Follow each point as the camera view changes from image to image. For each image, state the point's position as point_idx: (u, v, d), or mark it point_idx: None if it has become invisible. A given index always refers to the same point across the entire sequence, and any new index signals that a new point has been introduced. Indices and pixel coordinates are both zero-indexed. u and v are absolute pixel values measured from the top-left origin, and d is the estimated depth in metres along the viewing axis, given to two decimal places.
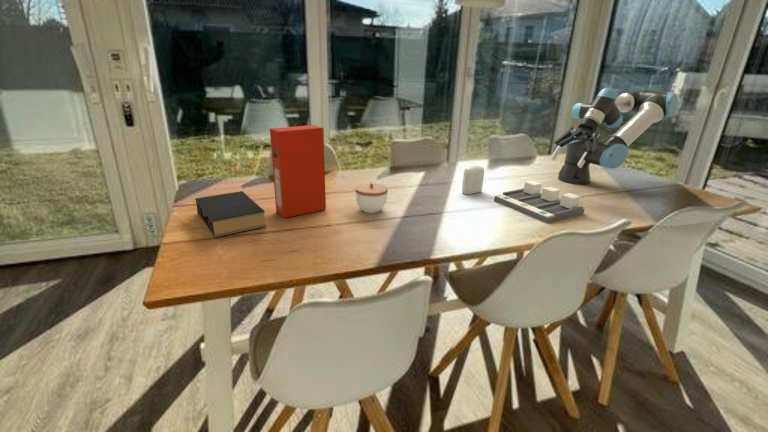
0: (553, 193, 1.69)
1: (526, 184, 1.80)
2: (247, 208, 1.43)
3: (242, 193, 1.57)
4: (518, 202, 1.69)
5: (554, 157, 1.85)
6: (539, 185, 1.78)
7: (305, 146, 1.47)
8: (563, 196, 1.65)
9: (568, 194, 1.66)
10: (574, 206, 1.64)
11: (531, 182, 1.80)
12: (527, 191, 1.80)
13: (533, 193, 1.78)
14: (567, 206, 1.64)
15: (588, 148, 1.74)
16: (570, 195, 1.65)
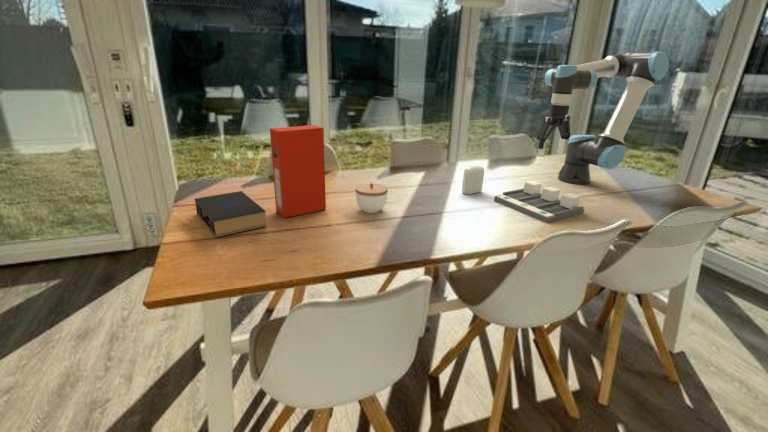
0: (553, 193, 1.69)
1: (526, 184, 1.80)
2: (247, 208, 1.43)
3: (241, 193, 1.57)
4: (518, 202, 1.69)
5: (559, 151, 1.81)
6: (539, 185, 1.78)
7: (305, 146, 1.47)
8: (563, 196, 1.65)
9: (568, 194, 1.66)
10: (574, 206, 1.64)
11: (531, 182, 1.80)
12: (527, 191, 1.80)
13: (533, 193, 1.78)
14: (567, 206, 1.64)
15: None
16: (570, 195, 1.65)
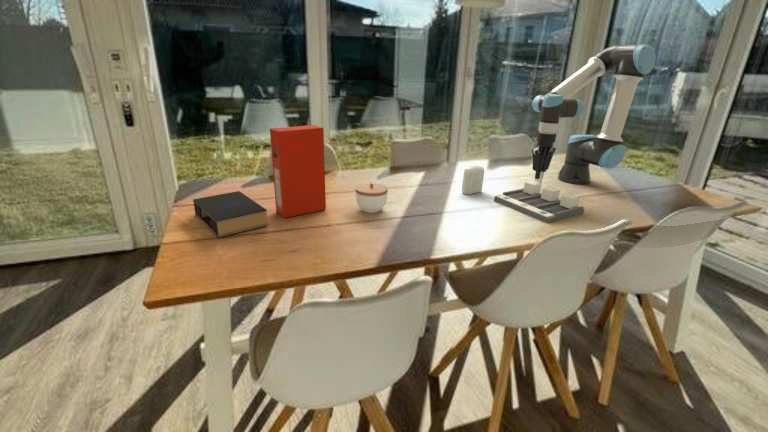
0: (553, 193, 1.69)
1: (526, 184, 1.80)
2: (248, 207, 1.43)
3: (239, 193, 1.57)
4: (518, 202, 1.69)
5: None
6: (539, 185, 1.78)
7: (305, 146, 1.47)
8: (563, 196, 1.65)
9: (568, 194, 1.66)
10: (574, 206, 1.64)
11: (531, 182, 1.80)
12: (527, 191, 1.80)
13: (533, 193, 1.78)
14: (567, 206, 1.64)
15: None
16: (570, 195, 1.65)
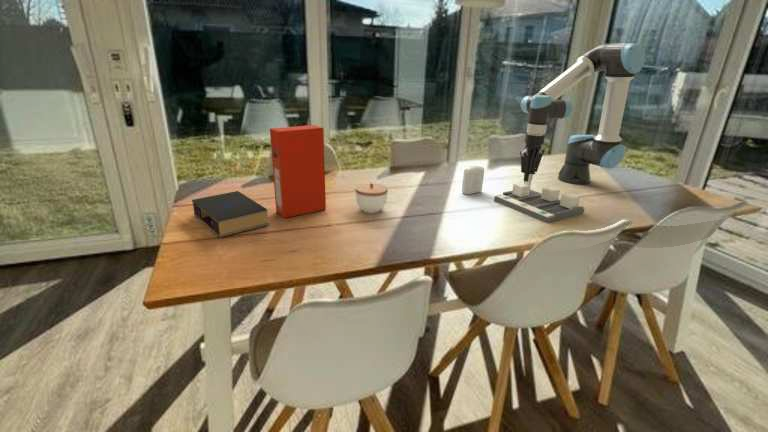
0: (553, 193, 1.69)
1: (515, 186, 1.76)
2: (249, 207, 1.44)
3: (238, 193, 1.57)
4: (518, 202, 1.69)
5: None
6: (528, 187, 1.75)
7: (305, 146, 1.47)
8: (563, 196, 1.65)
9: (568, 194, 1.66)
10: (574, 206, 1.64)
11: (520, 184, 1.76)
12: (516, 193, 1.76)
13: (522, 195, 1.75)
14: (567, 206, 1.64)
15: None
16: (570, 195, 1.65)
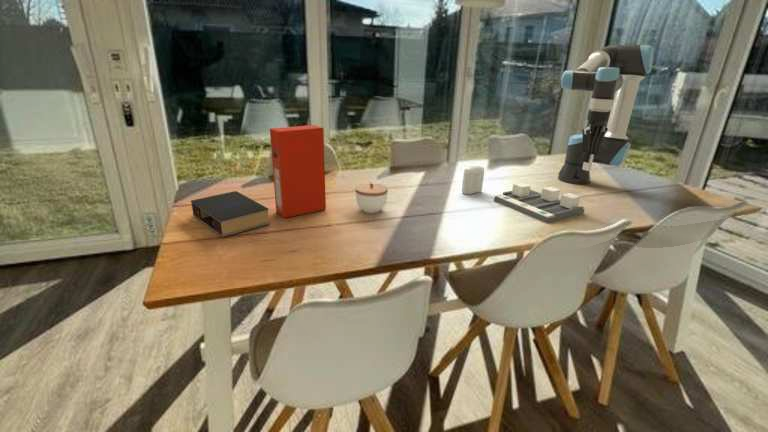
0: (553, 193, 1.69)
1: (514, 186, 1.76)
2: (249, 207, 1.44)
3: (237, 193, 1.57)
4: (518, 202, 1.69)
5: None
6: (528, 187, 1.75)
7: (305, 146, 1.47)
8: (563, 196, 1.65)
9: (568, 194, 1.66)
10: (574, 206, 1.64)
11: (520, 184, 1.76)
12: (515, 193, 1.76)
13: (521, 195, 1.74)
14: (567, 206, 1.64)
15: None
16: (570, 195, 1.65)
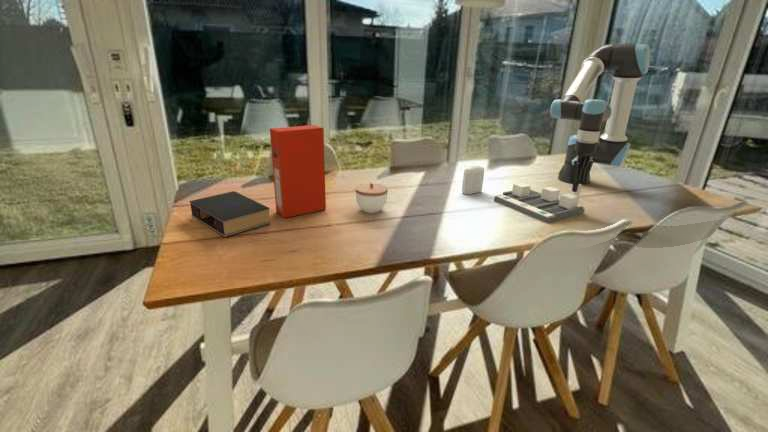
0: (553, 193, 1.69)
1: (514, 186, 1.76)
2: (250, 206, 1.44)
3: (235, 193, 1.57)
4: (518, 202, 1.69)
5: None
6: (528, 187, 1.75)
7: (305, 146, 1.47)
8: (562, 196, 1.64)
9: (567, 194, 1.65)
10: (573, 206, 1.63)
11: (520, 184, 1.76)
12: (515, 193, 1.76)
13: (521, 195, 1.74)
14: (566, 206, 1.63)
15: None
16: (569, 195, 1.64)
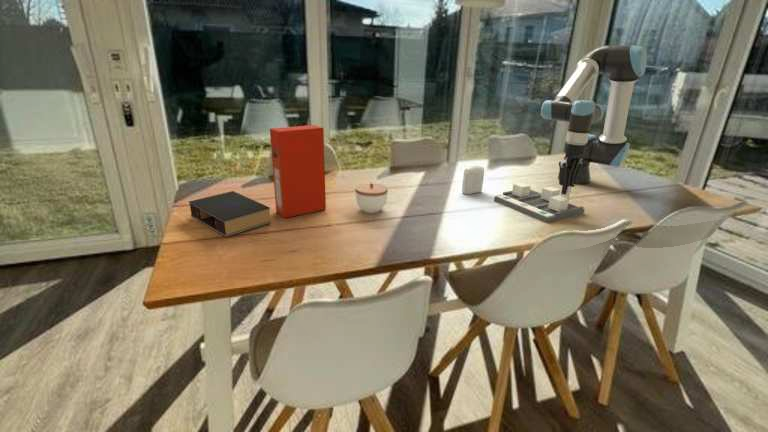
0: (553, 193, 1.69)
1: (514, 186, 1.76)
2: (250, 206, 1.45)
3: (234, 193, 1.57)
4: (518, 202, 1.69)
5: None
6: (528, 187, 1.75)
7: (305, 146, 1.47)
8: (551, 199, 1.61)
9: (556, 197, 1.62)
10: (562, 209, 1.60)
11: (520, 184, 1.76)
12: (515, 193, 1.76)
13: (521, 195, 1.74)
14: (555, 209, 1.60)
15: None
16: (559, 197, 1.61)
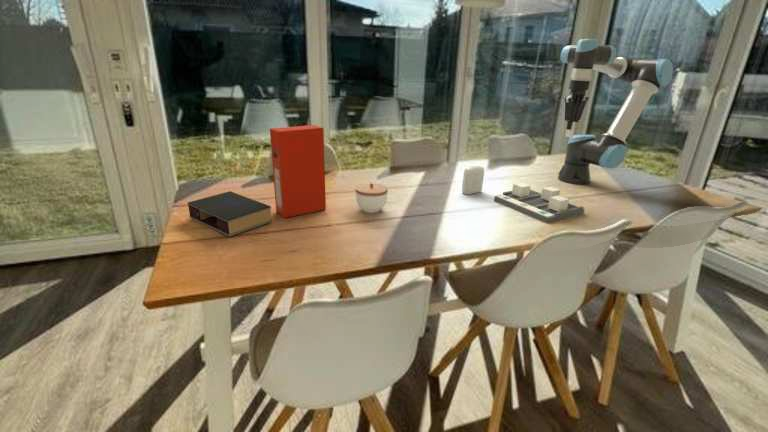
0: (553, 193, 1.69)
1: (514, 186, 1.76)
2: (251, 205, 1.45)
3: (232, 193, 1.57)
4: (518, 202, 1.69)
5: None
6: (528, 187, 1.75)
7: (305, 146, 1.47)
8: (551, 199, 1.61)
9: (556, 197, 1.62)
10: (562, 209, 1.60)
11: (520, 184, 1.76)
12: (515, 193, 1.76)
13: (521, 195, 1.74)
14: (555, 209, 1.60)
15: None
16: (559, 197, 1.61)
